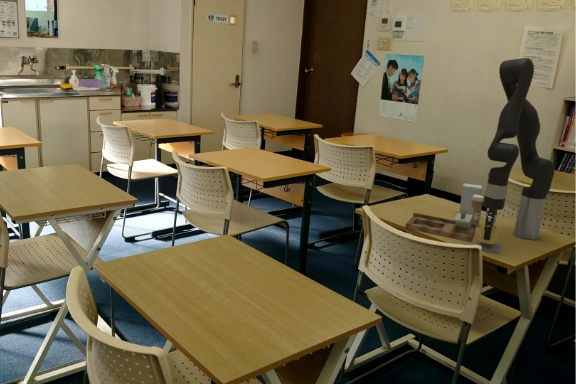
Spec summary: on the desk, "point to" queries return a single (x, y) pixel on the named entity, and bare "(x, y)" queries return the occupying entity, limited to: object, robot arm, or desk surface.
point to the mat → (489, 246)
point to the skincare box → (469, 196)
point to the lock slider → (463, 219)
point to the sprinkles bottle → (476, 209)
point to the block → (492, 236)
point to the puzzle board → (440, 227)
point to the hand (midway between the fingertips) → (487, 237)
